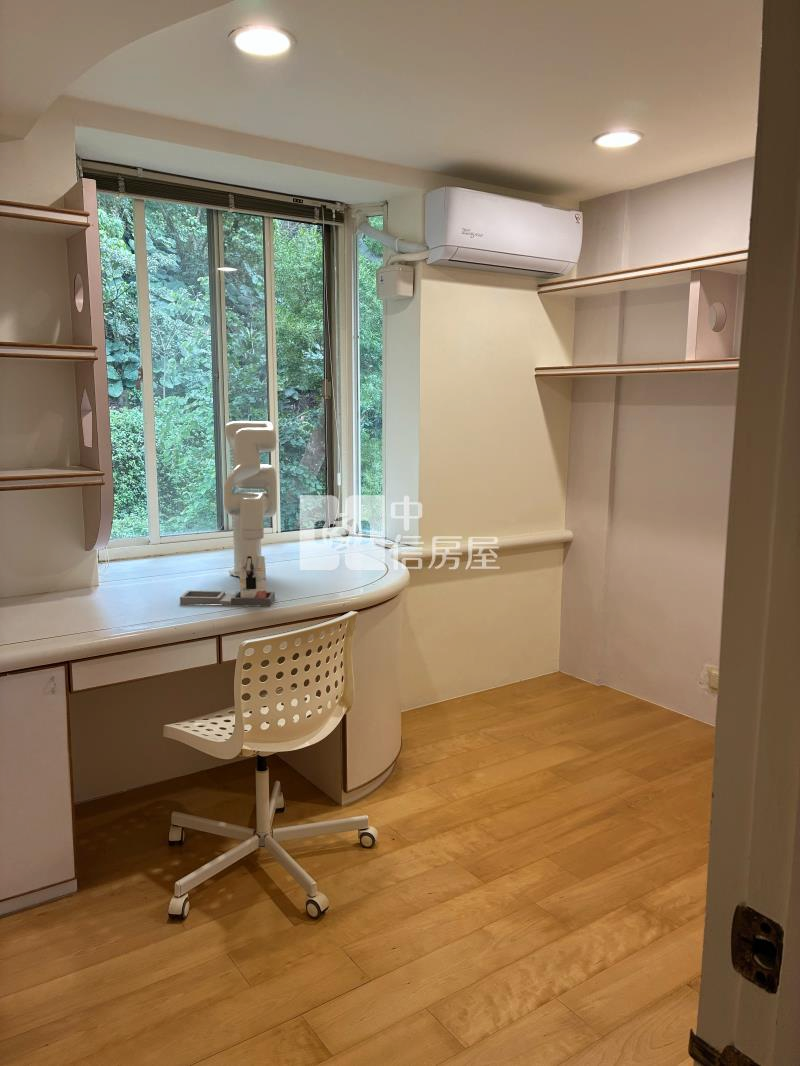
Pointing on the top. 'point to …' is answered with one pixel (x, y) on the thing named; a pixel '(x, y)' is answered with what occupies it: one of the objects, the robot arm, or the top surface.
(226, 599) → the grey tray
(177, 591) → the top surface
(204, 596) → the brown rectangular tray
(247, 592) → the ink cartridge box
